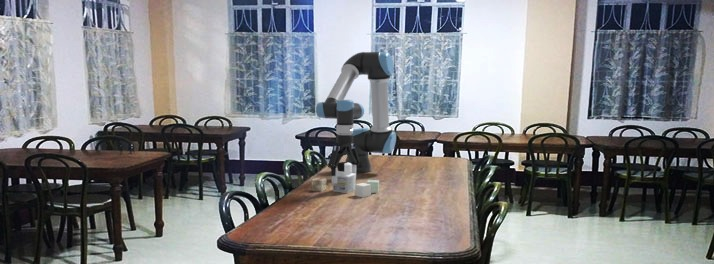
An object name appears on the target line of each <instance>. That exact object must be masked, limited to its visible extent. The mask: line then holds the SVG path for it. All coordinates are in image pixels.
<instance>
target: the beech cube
mask: <svg viewBox="0 0 714 264" xmlns="http://www.w3.org/2000/svg"><path fill="white" fill-rule="evenodd" d="M325 189H326V190H327V178H322V177H315V178H312V179H311V191H312V190H313V191H314V192H321V191H322V192H324V191H325ZM323 190H324V191H323Z"/></svg>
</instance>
